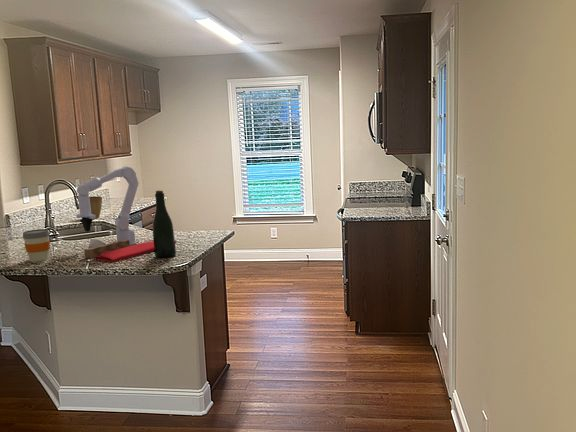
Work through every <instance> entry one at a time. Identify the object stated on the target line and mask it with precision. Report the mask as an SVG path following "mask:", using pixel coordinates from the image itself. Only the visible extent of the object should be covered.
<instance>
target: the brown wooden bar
mask: <svg viewBox="0 0 576 432" xmlns="http://www.w3.org/2000/svg"><path fill="white" fill-rule="evenodd" d="M128 246H131V245H130V242H129V240H122V241H118V242H117V241H115V242H111V243H106V244H105V245H101V246H97V247H93V248H86V249H84V258H85V259H87V258H88V259H87V260H89V258H90V259H94V258H95V257H96V256H100V254H101V253H104V252H108V251H112V250H116V249H120V248H124V247H128ZM93 257H94V258H93Z"/></svg>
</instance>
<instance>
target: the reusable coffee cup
mask: <svg viewBox="0 0 576 432" xmlns="http://www.w3.org/2000/svg"><path fill="white" fill-rule="evenodd" d="M22 239H23V240H24V247H25V250H26V253H27V256H28V259H29V262H30V263H31V262H32V263H36V262H37V263H39V262H44V261H48V260H49V259H50V249H51V247H50V244H51V242H50V241H51V240H50V231H49V229H47V228H41V229H40V228H38V229H30V230H25V231H23V232H22ZM47 259H48V260H47ZM38 261H39V262H38Z"/></svg>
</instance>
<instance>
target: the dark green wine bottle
mask: <svg viewBox="0 0 576 432" xmlns="http://www.w3.org/2000/svg"><path fill="white" fill-rule="evenodd" d="M154 198H155V212H154V216H153V220H152V240H153V242H154V251H153V252H154V256H155V258H157V259H165V258H166V259H167V258H172V257H175V256H176V254H177V250H176V244H175V241H176V240H175V232H174V230H175V229H174V226H173V221H172V218H171V217H170V214H169V213H168V210H167V206H166V201H165V200H166V199H165V193H164V191H163V189H161V190H159V189H158V190H155V194H154Z"/></svg>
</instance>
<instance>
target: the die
mask: <svg viewBox="0 0 576 432" xmlns="http://www.w3.org/2000/svg"><path fill="white" fill-rule="evenodd" d="M106 244H107V243H106V242H105V241H104V240H103V239H102V237H94V238H90V239H89V244H88V248H87V249H89V248H93V247H97V246H101V245H106Z"/></svg>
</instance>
